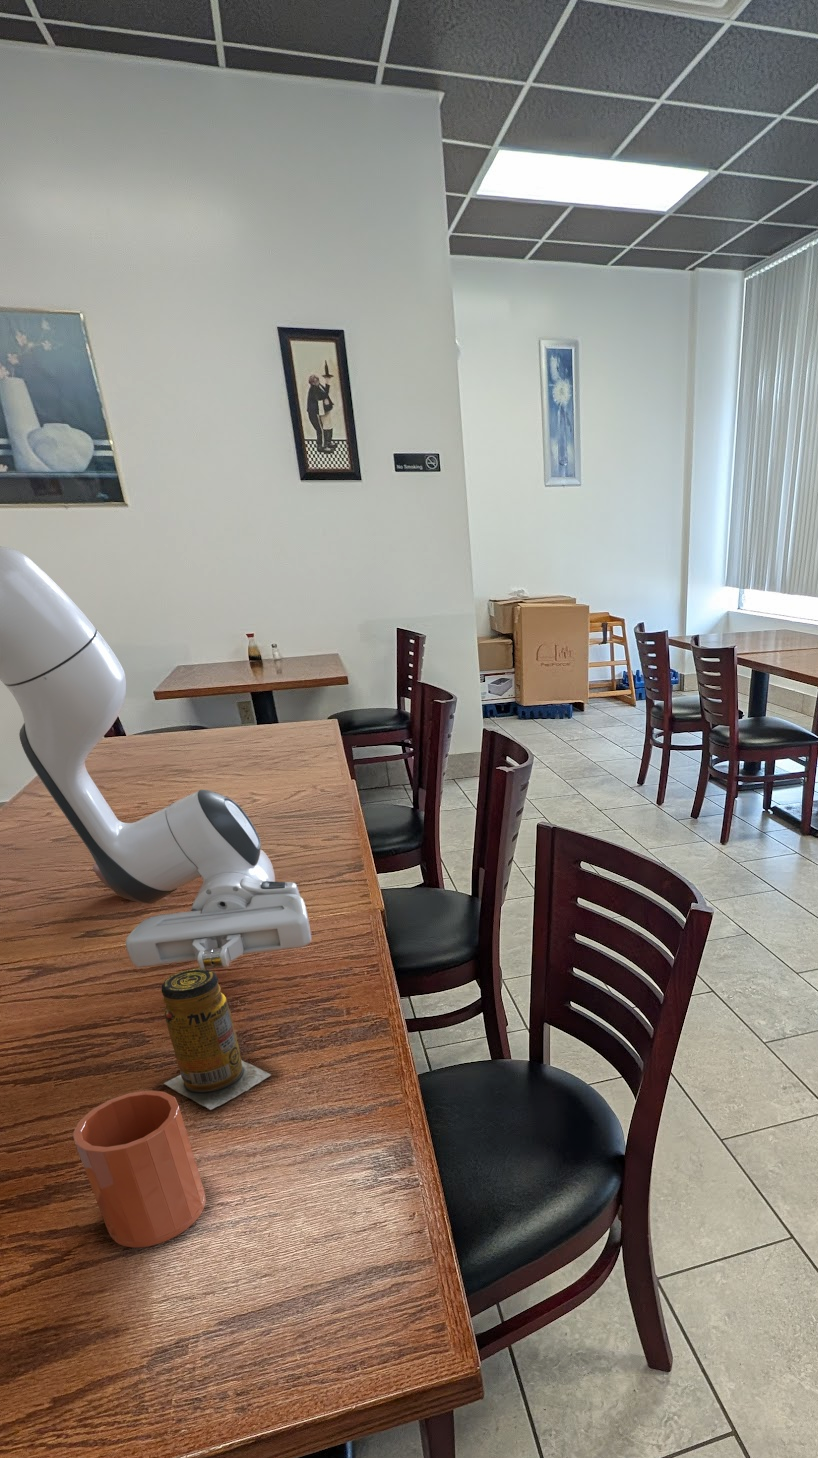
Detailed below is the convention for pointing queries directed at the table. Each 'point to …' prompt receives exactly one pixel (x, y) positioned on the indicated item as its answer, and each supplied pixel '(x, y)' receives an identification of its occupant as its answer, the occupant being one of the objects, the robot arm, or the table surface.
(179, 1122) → the terracotta cup
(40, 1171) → the table surface
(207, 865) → the robot arm
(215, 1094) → the condiment
